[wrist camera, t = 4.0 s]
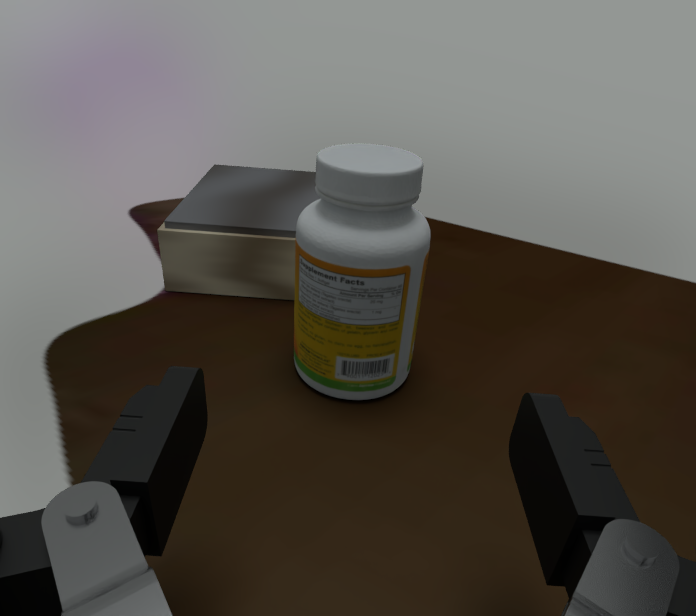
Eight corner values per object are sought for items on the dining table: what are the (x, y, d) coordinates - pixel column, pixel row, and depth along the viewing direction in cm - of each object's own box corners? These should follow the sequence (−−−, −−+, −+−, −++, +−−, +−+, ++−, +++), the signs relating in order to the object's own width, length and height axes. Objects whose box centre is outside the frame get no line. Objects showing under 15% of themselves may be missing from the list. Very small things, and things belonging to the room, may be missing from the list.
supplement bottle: (344, 320, 28) (359, 131, 23) (431, 365, 25) (469, 160, 20) (268, 365, 24) (266, 151, 19) (360, 423, 21) (385, 190, 16)
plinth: (364, 228, 39) (369, 174, 37) (363, 305, 29) (369, 238, 27) (214, 217, 39) (211, 162, 37) (165, 290, 29) (156, 222, 27)
